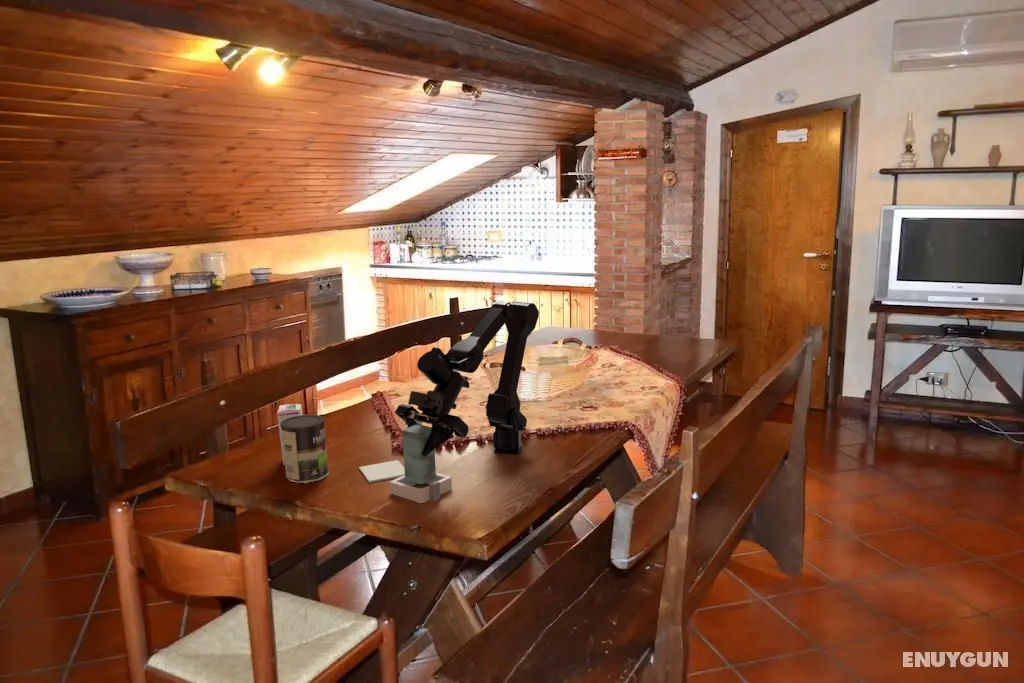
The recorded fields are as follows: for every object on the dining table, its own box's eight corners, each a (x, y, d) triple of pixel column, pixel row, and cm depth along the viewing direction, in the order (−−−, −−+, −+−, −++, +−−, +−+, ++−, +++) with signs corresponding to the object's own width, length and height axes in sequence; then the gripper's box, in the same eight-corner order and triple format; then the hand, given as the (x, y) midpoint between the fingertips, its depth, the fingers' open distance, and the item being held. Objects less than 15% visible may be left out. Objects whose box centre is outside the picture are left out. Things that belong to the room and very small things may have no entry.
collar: (420, 479, 189) (419, 464, 188) (456, 490, 182) (455, 474, 181) (390, 494, 181) (389, 477, 180) (426, 505, 174) (425, 488, 174)
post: (420, 472, 185) (417, 423, 182) (436, 477, 182) (433, 427, 179) (405, 479, 181) (401, 429, 178) (421, 484, 178) (418, 433, 175)
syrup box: (306, 463, 202) (301, 409, 198) (282, 465, 200) (276, 411, 197) (307, 455, 207) (302, 402, 204) (283, 457, 206) (278, 404, 203)
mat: (397, 461, 201) (397, 460, 201) (409, 475, 192) (409, 473, 192) (359, 468, 197) (359, 467, 197) (369, 482, 188) (369, 480, 188)
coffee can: (335, 468, 198) (331, 414, 194) (318, 485, 188) (313, 428, 185) (296, 467, 199) (291, 413, 196) (278, 483, 189) (272, 427, 186)
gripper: (397, 370, 185) (365, 428, 179) (458, 382, 174) (426, 444, 168) (422, 394, 193) (393, 451, 187) (482, 407, 182) (452, 467, 176)
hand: (414, 453), depth 179 cm, fingers closed on post, 5 cm apart
